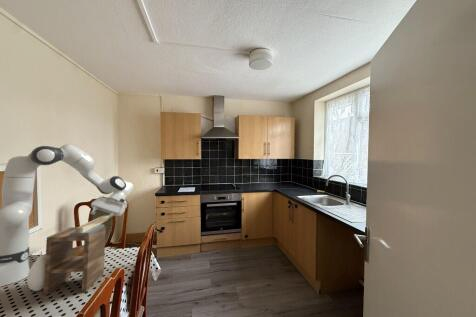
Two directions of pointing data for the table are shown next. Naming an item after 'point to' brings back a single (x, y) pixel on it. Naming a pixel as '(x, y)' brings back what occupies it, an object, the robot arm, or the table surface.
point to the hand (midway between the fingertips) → (99, 216)
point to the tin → (78, 251)
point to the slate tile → (88, 231)
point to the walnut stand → (73, 259)
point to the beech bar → (91, 224)
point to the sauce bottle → (37, 274)
